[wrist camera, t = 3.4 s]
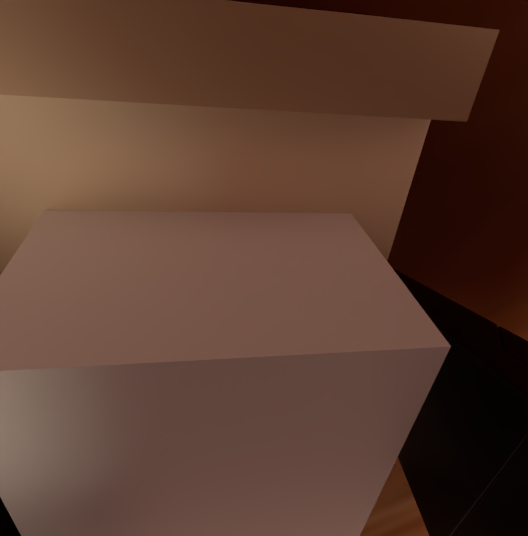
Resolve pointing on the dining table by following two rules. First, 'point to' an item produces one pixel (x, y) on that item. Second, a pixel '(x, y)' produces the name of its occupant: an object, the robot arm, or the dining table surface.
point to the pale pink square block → (205, 374)
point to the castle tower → (221, 108)
